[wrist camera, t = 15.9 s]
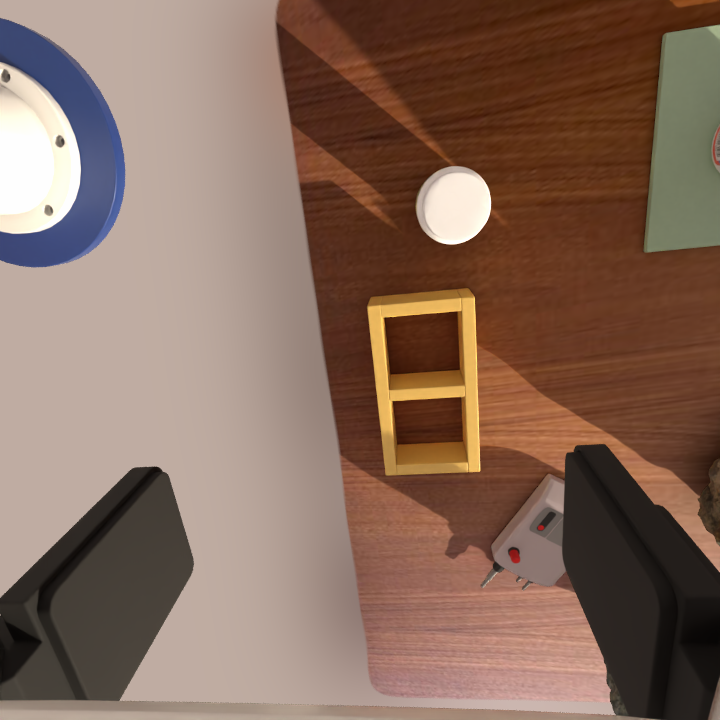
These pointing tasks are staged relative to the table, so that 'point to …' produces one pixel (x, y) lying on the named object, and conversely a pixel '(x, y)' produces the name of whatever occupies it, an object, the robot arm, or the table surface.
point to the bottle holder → (427, 384)
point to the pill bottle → (716, 149)
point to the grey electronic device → (534, 538)
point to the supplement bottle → (453, 205)
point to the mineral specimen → (711, 502)
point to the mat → (685, 144)
